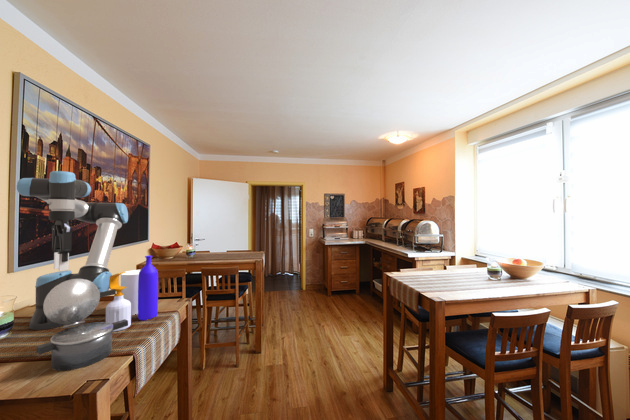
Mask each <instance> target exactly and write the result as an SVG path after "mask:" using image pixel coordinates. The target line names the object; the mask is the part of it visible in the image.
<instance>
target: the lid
mask: <svg viewBox="0 0 630 420" xmlns="http://www.w3.org/2000/svg"><path fill="white" fill-rule="evenodd" d="M115 294H117V291H116V289H113V290H111V289H109V290H108V291H104V292H99V289H98V287H97V286H96V285H95V284H94V283H93V282H91V281H89V280H85V279H71V280H67V281H64V282H62V283H60V284H58V285H57V286H55V287H54V288H53V289H52V290H51V291H50V292H49V293H48V295H47V296H46V298H45V300H44V304H43V310H44V313H45V315H46V317H47V318H48V319H49V320H51V321H52V322H55V323H58V324H66V325H62V329H63V330H65V329H68V328H71V327H74V326H78V325H83V324H86V321H85V319H86V318H88V317H89V316H90V315H91V314H93V312H94V311H95V310H96V309H97V307H98V305H99V303H100V298H106V297H109V296H114V295H115Z"/></svg>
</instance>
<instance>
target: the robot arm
mask: <svg viewBox="0 0 630 420" xmlns="http://www.w3.org/2000/svg"><path fill="white" fill-rule="evenodd" d="M16 183H17V184H16V191H17V192H18V194H19V195H21V196H23V197H35V198H38V199H39V200H42V201H43V202H45V203H47V205H48V209H49V211H48V220H49V221H55V222H54V225H52V226H51V233H52V234H51V238H52V239H51V250H52V252H53V269H54V270H58V271H54V272H51V273H46V274H43V275H42V274H41V275H40V276H38V277H37V278H36V281H35V308H34V309H35V310H34V312H33V315H32V317H31V318H30V321H29V327H28V329H29V330H32V331H42V330H43V331H44V330H49V329H53V328H55V329H56V328H58V327H63V326H64V325H67V324H58V323H55V322H52V321H51V320H49V319H48V318H47V317H46V315H45V313H44V310H43V304H44V300H45V298H46V296H47V295H48V293H49V292H50V291H51V290H52V289H53V288H54V287H55V286H57V285H58V284H60V283H62V282H64V281H67V280H71V279H85V280H89V281H91V282H93V283H94V284H95V285H96V286H97V287H98V289H99V292H104V291H108V290H110V287H109V279H110V276H112V275H113V274H112V273H111V272H110V269H109V268H108V265H109V260H110V257H111V254H112V250H113V246H114V243H115V239H116V236H117V231H118V230H120V229H121V228H122V226H123V224H127V223H128V221H129V211H128V208H127V206H126V204H124V203H123V202H122V203H121V202H87V201H84V200H81V198H85V197H88V196H90V194H91V192H92V187H91V185H90V184H89V183H88V182H86V181H84V180H81V179H77V178H76V174H75V173H74V172H71V171H65V170H63V171H62V170H52V171H50V173H49V178H41V177H38V178H37V177H23V178H20V179H19V180H18V181H17V182H16ZM77 198H80V199H77ZM74 220H78V221H81V222H83V223H84V222H85V223H87V224H88V223H89V224H96V226H97V227H96V228H97V229H96V232H95V235H94V238H93V241H92V243H91V247H90V250H89V253H88V255H87V258H86V262H85V264H84V265H83V266H81V267H79V271H78V273H73V272H72V270H69V269H70V268H69V267H70V265H69V263H70V253H71V252H72V244H73V241H72V238H73V235H72V234H73V226H71V225H70V221H74Z"/></svg>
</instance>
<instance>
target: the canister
mask: <svg viewBox="0 0 630 420" xmlns="http://www.w3.org/2000/svg"><path fill="white" fill-rule="evenodd" d="M141 269H142V268H141ZM141 269H132V270H126V271H125V272H126V273H123V274H120V286H124V287H126V288H124V289H123V290H122V291H121V293H123V298H124V299H126V300H128V301H130V303H131V316H134V315H135V314H136V315H138V278H139V272H140V271H141Z"/></svg>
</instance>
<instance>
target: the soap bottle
mask: <svg viewBox="0 0 630 420" xmlns="http://www.w3.org/2000/svg"><path fill="white" fill-rule="evenodd" d="M123 273H126V271H123V272H119V273H115V274H112V276H110V279H109V287H110V288H109V290H113V289H116V294H114V295H113V300H112V301H110V302H109V303H108V304H107V305H106V306H105V322H108V323H115V322H118V321H121V320H124V319H125V320H128V326H125V327H122V328H119V329H116V330H113V331H112V333H113V332H120V331H123V330H126V329H127V328H129V327H131V324H132V315H131V303H130V301H128V300H126V299H124V298H123V293H121V291H122V290H123V289H124V288H126V287H124V286H121V285H120V284H119V283H120V281H119V278H120V276H121V274H123Z"/></svg>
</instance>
